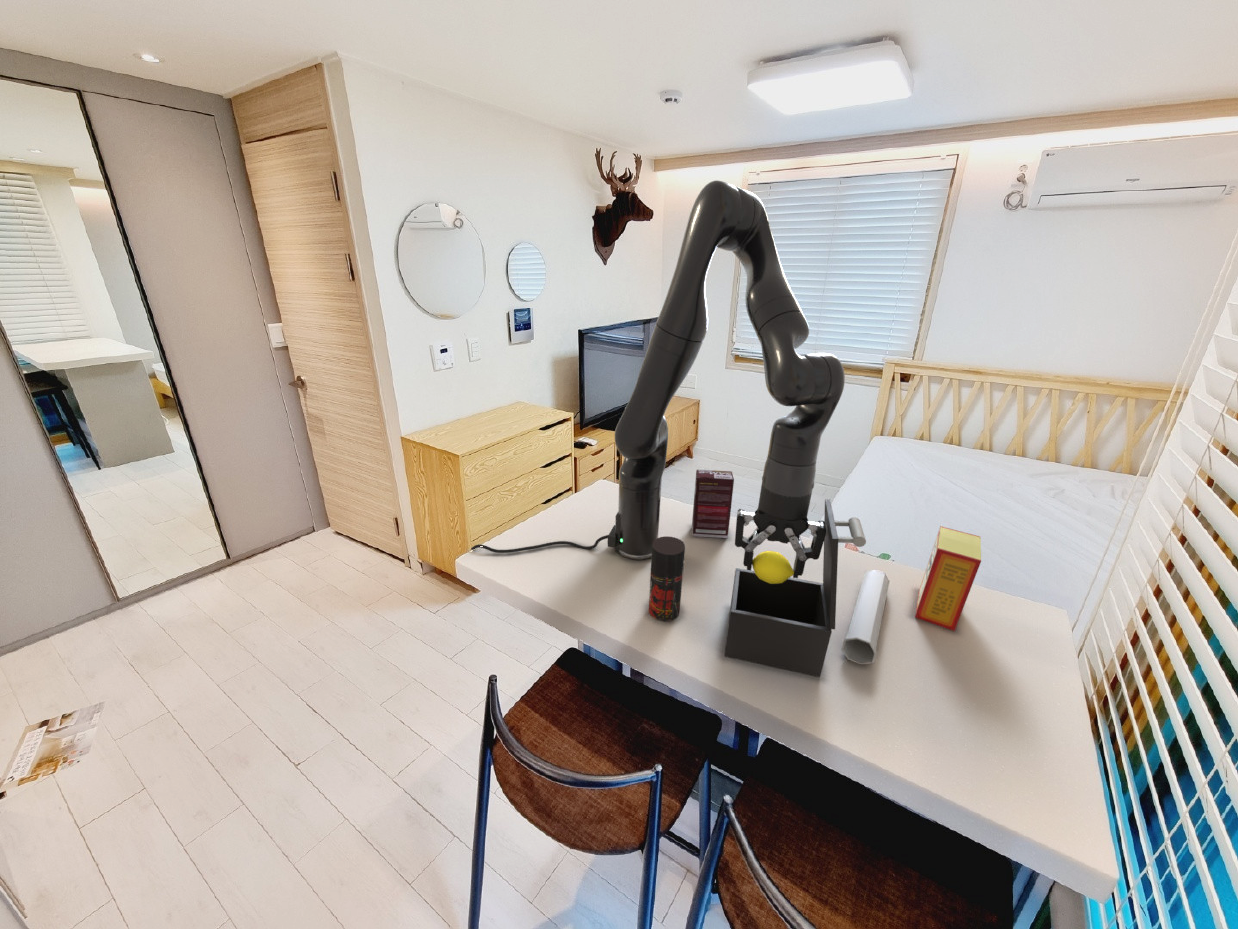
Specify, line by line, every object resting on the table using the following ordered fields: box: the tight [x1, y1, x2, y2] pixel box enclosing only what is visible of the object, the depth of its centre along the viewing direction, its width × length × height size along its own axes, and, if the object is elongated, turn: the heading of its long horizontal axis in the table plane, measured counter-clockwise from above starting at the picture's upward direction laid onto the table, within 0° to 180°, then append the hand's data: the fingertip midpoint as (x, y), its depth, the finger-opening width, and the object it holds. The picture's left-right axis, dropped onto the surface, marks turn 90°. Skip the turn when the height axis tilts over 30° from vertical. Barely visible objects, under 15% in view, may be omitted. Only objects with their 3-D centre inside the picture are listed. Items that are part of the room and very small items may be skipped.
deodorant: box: [648, 535, 686, 623], centre depth 93 cm, size 6×6×15 cm
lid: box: [822, 498, 867, 630], centre depth 80 cm, size 16×13×5 cm
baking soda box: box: [914, 525, 982, 632], centre depth 95 cm, size 10×6×16 cm
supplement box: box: [691, 469, 735, 539], centre depth 119 cm, size 9×5×16 cm, turn 84°
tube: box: [841, 569, 890, 665], centre depth 94 cm, size 5×5×25 cm
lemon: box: [752, 550, 794, 584], centre depth 84 cm, size 7×5×5 cm
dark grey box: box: [724, 567, 833, 678], centre depth 88 cm, size 16×13×10 cm
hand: (771, 571), depth 85 cm, fingers closed on lemon, 7 cm apart
